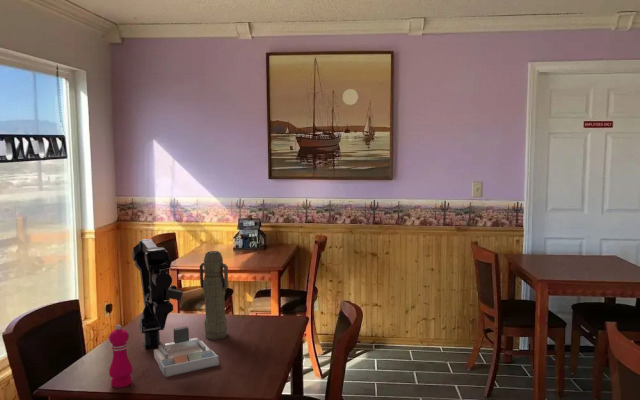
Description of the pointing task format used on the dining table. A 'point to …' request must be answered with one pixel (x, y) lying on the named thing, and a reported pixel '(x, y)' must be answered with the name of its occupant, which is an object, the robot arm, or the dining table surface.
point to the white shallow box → (178, 352)
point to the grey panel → (181, 341)
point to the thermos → (214, 294)
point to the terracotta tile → (180, 359)
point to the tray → (189, 364)
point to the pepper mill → (120, 359)
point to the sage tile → (194, 356)
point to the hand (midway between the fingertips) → (159, 324)
